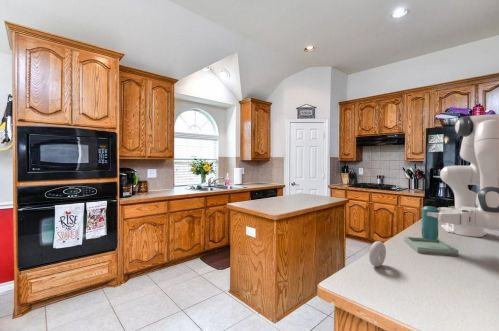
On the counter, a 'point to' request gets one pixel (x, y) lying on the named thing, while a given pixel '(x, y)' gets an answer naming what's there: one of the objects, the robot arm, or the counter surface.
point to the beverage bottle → (429, 221)
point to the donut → (377, 253)
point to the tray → (430, 246)
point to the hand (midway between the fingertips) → (427, 212)
